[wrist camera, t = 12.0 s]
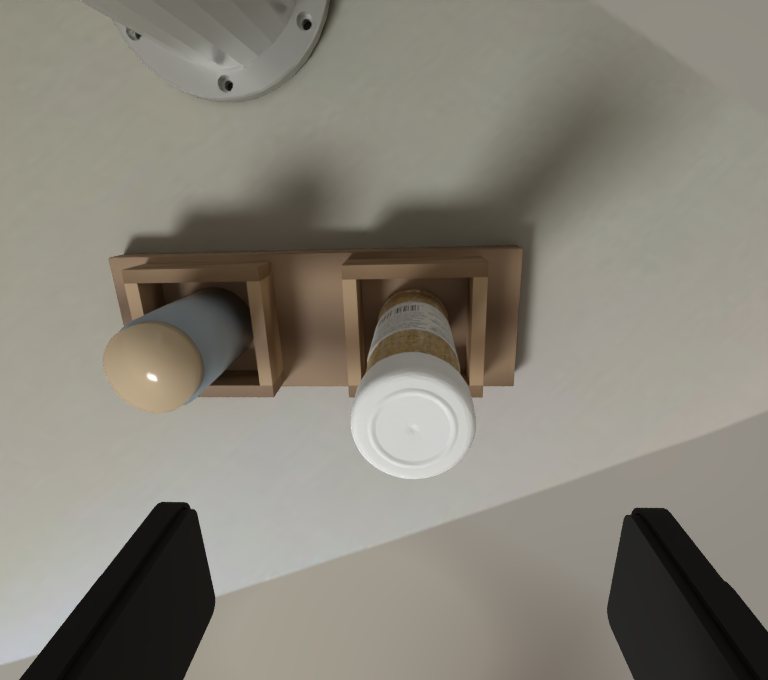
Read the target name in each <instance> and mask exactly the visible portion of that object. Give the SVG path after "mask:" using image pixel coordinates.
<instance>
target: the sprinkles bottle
mask: <svg viewBox="0 0 768 680" xmlns="http://www.w3.org/2000/svg"><path fill="white" fill-rule="evenodd" d="M475 429H476V417H475V411H474V406H473V401H472V397H471V394H470V391H469V388H468V385H467V383H466V382H465V380H464V379H463V377H462V376H461V373H460V365H459V361H458V357H457V353H456V349H455V345H454V341H453V337H452V332H451V329H450V325H449V320H448V313H447V310H446V308H445V306H444V305H443V303H442V302H441V300H440V299H439V298H437V297H436V296H435V295H433V294H432V293H430V292H428V291H425V290H421V289H406V290H403V291H400V292H397V293H395V294H394V295H393V296H391V297H390V298H389V299H388V300H387V301H386V302H385V304H384V305H383V307H382V308H381V310H380V313H379V317H378V324H377V326H376V330H375V333H374V337H373V340H372V344H371V347H370V351H369V354H368V358H367V370H366V373H365V375H364V376H363V378H362V380H361V381H360V383H359V385H358V388H357V390H356V394H355V398H354V402H353V407H352V412H351V431H352V435H353V439H354V441H355V444H356V446H357V447H358V449H359V451H360V452H361V454H362V455H363V456H364V457H365V459H366V460H367V461H368V462H370V463H371V464H372V465H373V466H375V467H376V468H378V469H379V470H381V471H383V472H385V473H387V474H390V475H393V476H396V477H401V478H406V479H422V478H427V477H432V476H435V475H438V474H441V473H443V472H445V471H447V470H448V469H450V468H452V467H453V466H454V465H456V464H457V463H458V462H459V461H460V460H461V459H462V458H463V457H464V456H465V454H466V453H467V451H468V450H469V448H470V446H471V444H472V441H473V438H474V435H475Z"/></svg>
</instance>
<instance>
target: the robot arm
mask: <svg viewBox="0 0 768 680" xmlns="http://www.w3.org/2000/svg"><path fill="white" fill-rule="evenodd" d="M79 1H81V2H83V3H85V4H86V5H88V6H90V7H92V8H94V9H95V10H97V11H99V12H101V13H102V14H104V15H106V16H108V17H110V18H111V19H112V20H113V22H114V24H115V26H116V27H117V29H118V31H119V32H120V34H121V35H122V37H123V39H124V40H125V42H126V43H127V45H128V46H129V48H130V49H131V50H132V51H133V52H134V53H135V55H136V56H137V57H138V58H139V59H140V60H141V61H142V63H143V64H144V65H145V66H146V67H148V68H149V69H150V70H151V71H152V72H154V73H155V74H156V75H157V76H158V77H160V78H161V79H162V80H164V81H165V82H167V83H169V84H171V85H172V86H174V87H176V88H178V89H180V90H181V91H183V92H186V93H188V94H191V95H193V96H196V97H198V98H203V99H207V100H211V101H216V102H242V101H246V100H251V99H256V98H259V97H261V96H263V95H265V94H268V93H270V92H272V91H274V90H276V89H277V88H279V87H280V86H281V85H283V84H284V83H285V82H287V81H288V80H289V79H291V78H292V77H293V76H294V75H295V74H296V73H297V71H298V70H299V69H300V68H301V67H302V66H303V64H304V63H305V62H306V61H307V60H308V58H309V56H310V54H311V53H312V51H313V49H314V48H315V46H316V44H317V42H318V41H319V38H320V35H321V33H322V30H323V27H324V24H325V21H326V19H327V15H328V9H329V4H330V0H79ZM306 22H311V23H312V26H311V28H310V29H309V30H304V25H305V23H306ZM140 35H141V38H140ZM231 82H232V83H233V88H232V90H231V91H229V90H228V84H229V83H231ZM214 607H215V594H214V589H213V585H212V580H211V575H210V571H209V566H208V562H207V557H206V552H205V548H204V543H203V538H202V534H201V529H200V525H199V520H198V515H197V512H196V511H195V510H194V509H191V508H190V506H189V504H188V503H185V502H161V503H158V504H157V505H156V506H155V507H154V509H153V510H152V511H151V512H150V514H149V515H148V516H147V518H146V519H145V520H144V521H143V523H142V524H141V525H140V527H139V528H138V529H137V530H136V532H135V533H134V534H133V535H132V537H131V538H130V539H129V541H128V542H127V543H126V544H125V546H124V547H123V548H122V550H121V551H120V552H119V553H118V555H117V556H116V557H115V558H114V560H113V561H112V562H111V564H110V565H109V566H108V567H107V569H106V570H105V571H104V573H103V574H102V575H101V576H100V577H99V578H98V580H97V581H96V582H95V583H94V585H93V586H92V587H91V589H90V590H89V591H88V592H87V594H86V595H85V596H84V598H83V599H82V600H81V601H80V603H79V604H78V605H77V606H76V608H75V609H74V610H73V612H72V613H71V614H70V615H69V617H68V618H67V619H66V621H65V622H64V623H63V624H62V626H61V627H60V628H59V629H58V631H57V632H56V633H55V635H54V636H53V637H52V638H51V640H50V641H49V642H48V644H47V645H46V646H45V647H44V649H43V650H42V651H41V652H40V654H39V655H38V656H37V658H36V659H35V660H34V662H33V663H32V664H31V665H30V667H29V668H28V669H27V670H26V672H25V673H24V674H23V675H22V677H21V678H20V679H19V680H183V679H184V677H185V674H186V672H187V670H188V668H189V666H190V663H191V661H192V659H193V657H194V655H195V652H196V650H197V648H198V646H199V644H200V641H201V639H202V637H203V635H204V633H205V630H206V628H207V626H208V624H209V622H210V619H211V617H212V615H213V612H214ZM607 614H608V619H609V623H610V626H611V629H612V631H613V633H614V635H615V638H616V640H617V642H618V644H619V646H620V649H621V651H622V653H623V656H624V658H625V660H626V662H627V664H628V667H629V669H630V671H631V673H632V676H633V678H634V680H768V632H767V630H766V629H765V628H764V627H763V626H762V624H761V623H760V621H759V620H758V619H757V618H756V616H755V615H754V614H753V613H752V612H751V610H750V609H749V608H748V607H747V605H746V604H745V603H744V601H743V600H742V599H741V598H740V596H739V595H738V594H737V593H736V591H735V590H734V589H733V588H732V587H731V586H730V585H729V584H728V583H727V582H725V581H724V580H723V579H722V578H721V577H720V575H719V574H718V573H717V572H716V570H715V569H714V568H713V566H712V565H711V564H710V563H709V561H708V560H707V559H706V558H705V556H704V555H703V554H702V553H701V551H700V550H699V549H698V547H697V546H696V545H695V543H694V542H693V541H692V540H691V538H690V537H689V536H688V535H687V533H686V532H685V531H684V529H683V528H682V527H681V526H680V524H679V523H678V522H677V521H676V519H675V518H674V517H673V516H672V514H671V513H670V512H669V511H668V510H667V509H664V508H635V509H634V510H633V511H632V514H631V515H626V516H625V518H624V521H623V526H622V531H621V537H620V542H619V547H618V553H617V558H616V563H615V568H614V574H613V579H612V585H611V590H610V595H609V601H608V607H607Z"/></svg>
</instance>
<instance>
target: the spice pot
mask: <svg viewBox="0 0 768 680" xmlns="http://www.w3.org/2000/svg"><path fill="white" fill-rule="evenodd" d="M253 338H254V337H253V329H252V321H251V314H250V309H249V308H248V306H247V305H246V303H245V302H244V301H243V300H242V299H241V298H240V297H239V296H237V295H236V294H234V293H233V292H231V291H229V290H226V289H223V288H218V287H207V288H202V289H200V290H197V291H195V292H193V293H191V294H189V295H186V296H184V297H182V298H180V299H178V300H176V301H174V302H171V303H169V304H167V305H165V306H163V307H161V308H158V309H156V310H154V311H152V312H150V313H148V314H146V315H143V316H141V317H139V318H137V319H135V320H133V321H131V322H129V323H128V324H126V325H125V326H124V327H123V328H122V329H121V330H120V331H119V332H118V333H117V334H116V335H114V336H113V337H112V338H111V339H110V341H109V342H108V344H107V346H106V348H105V352H104V357H103V366H104V371H105V374H106V377H107V380H108V382H109V384H110V385H111V387H112V388H113V390H114V391H115V392H116V393H117V394H118V395H119V396H120V397H121V398H122V399H123V400H124V401H125V402H127V403H128V404H130V405H132V406H133V407H135V408H138V409H140V410H143V411H146V412H151V413H165V412H170V411H173V410H175V409H177V408H179V407H181V406H182V405H185V404H188V403H190V402H191V401H193V400H194V399H196V398H197V397H198V396H199V395H200V394H201V393H202V392H203V391H204V390H205V389H206V388H207V387H208V386H209V385H210V384H211V383H212V382H213V381H214V380H215V379H217V378H218V377H219V376H220V375H221V374H222V373H223V372H224V371H225V370H226V369H227V368H228V367H229V366H230V365H231V364H232V363H233V362H234V361H235V360H236V359H237V358H238V357H240V356H241V355H242V354H243V353H244V352H245V351H246V350H247V349H248V347H249V346H250V345H251V343H252V341H253Z"/></svg>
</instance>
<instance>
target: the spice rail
mask: <svg viewBox="0 0 768 680" xmlns="http://www.w3.org/2000/svg"><path fill="white" fill-rule="evenodd" d="M522 256H523V248H521V247H519V246H477V247H433V248H390V249H346V250H302V251H258V252H215V253H171V254H127V255H119V256H115V257H110V258H109V263H110V267H111V271H112V276H113V280H114V284H115V289H116V293H117V298H118V302H119V306H120V311H121V315H122V319H123V324H124V326H125V325H126V324H128V323H129V322H131V321H133V320H135V319H137V318H139V317H141V316H143V315H146V314H148V313H150V312H152V311H154V310H156V309H158V308H161V307H163V306H165V305H167V304H169V303H171V302H174V301H176V300H178V299H180V298H182V297H184V296H186V295H189V294H191V293H193V292H195V291H197V290H200V289H202V288H207V287H218V288H223V289H226V290H229V291H231V292H233V293H234V294H236V295H237V296H239V297H240V298H241V299H242V300H243V301H244V302H245V303H246V305H247V306H248V308H249V309H250V314H251V321H252V329H253V337H254V338H253V341H252V343H251V345H250V346H249V347H248V349H247V350H246V351H245V352H244V353H243V354H242V355H241V356H240V357H238V358H237V359H236V360H235V361H234V362H233V363H232V364H231V365H230V366H229V367H228V368H227V369H226V370H225V371H224V372H223V373H222V374H221V375H220V376H219V377H218V378H217V379H215V380H214V381H213V382H212V383H211V384H210V385H209V386H208V387H207V388H206V389H205V390H204V391H203V392H202V393H201V394H200V395H199V396H198V397H274V396H275V395H276V393H277V392H278V390H279V389H280V387H281V386H349V397H355V394H356V390H357V388H358V385H359V383H360V381H361V380H362V378H363V376H364V375H365V373H366V370H367V358H368V354H369V351H370V347H371V344H372V340H373V337H374V333H375V330H376V326H377V324H378V317H379V313H380V310H381V308H382V307H383V305H384V304H385V302H386V301H387V300H388V299H389V298H390V297H391V296H393V295H394V294H395V293H397V292H400V291H403V290H406V289H421V290H425V291H428V292H430V293H432V294H433V295H435V296H436V297H437V298H439V299H440V300H441V302H442V303H443V305H444V306H445V308H446V310H447V313H448V320H449V325H450V329H451V332H452V337H453V341H454V345H455V349H456V353H457V357H458V361H459V365H460V373H461V376H462V377H463V379H464V380H465V382H466V383H467V385H468V388H469V391H470V394H471V397H483V386H513V385H514V371H515V357H516V342H517V328H518V313H519V299H520V285H521V270H522Z"/></svg>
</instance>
